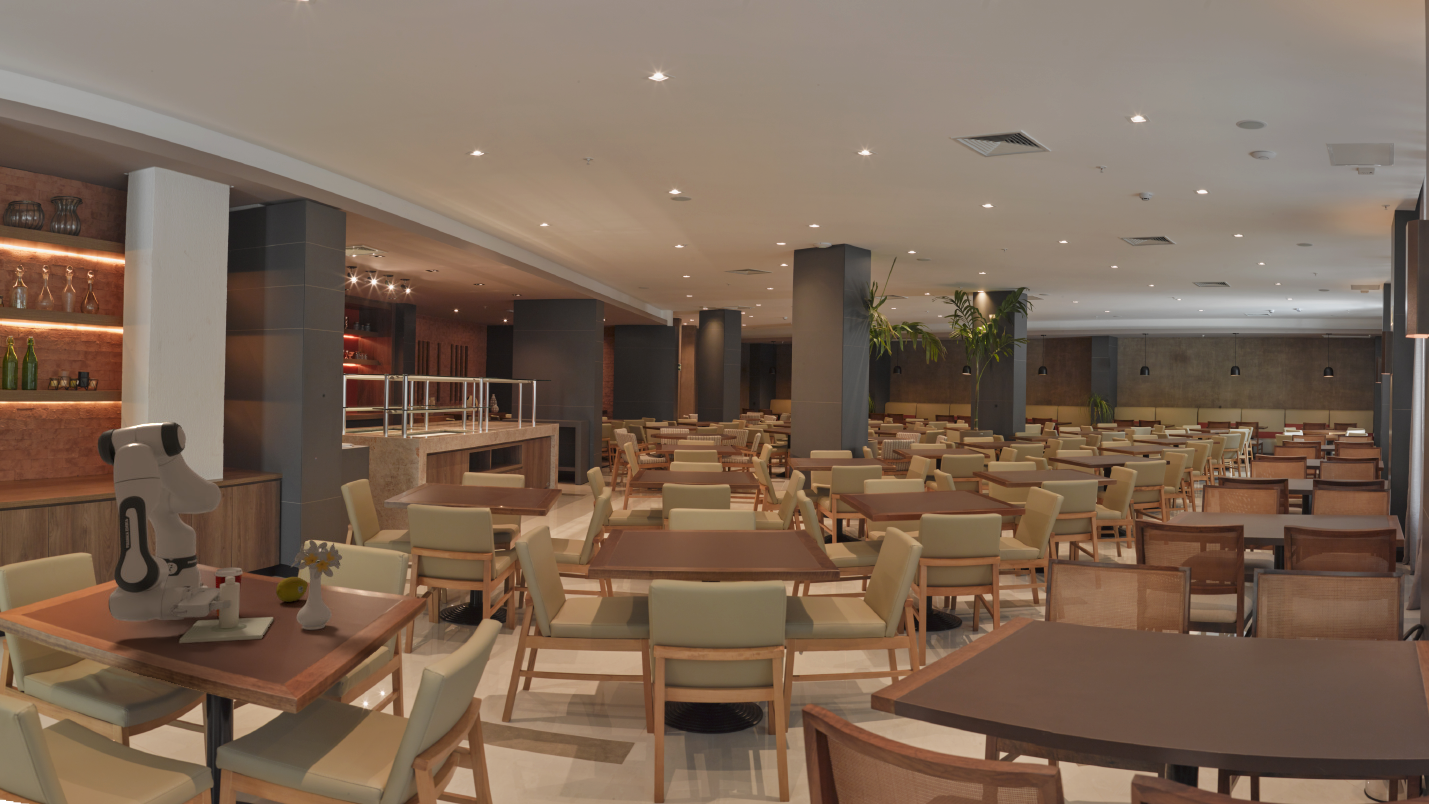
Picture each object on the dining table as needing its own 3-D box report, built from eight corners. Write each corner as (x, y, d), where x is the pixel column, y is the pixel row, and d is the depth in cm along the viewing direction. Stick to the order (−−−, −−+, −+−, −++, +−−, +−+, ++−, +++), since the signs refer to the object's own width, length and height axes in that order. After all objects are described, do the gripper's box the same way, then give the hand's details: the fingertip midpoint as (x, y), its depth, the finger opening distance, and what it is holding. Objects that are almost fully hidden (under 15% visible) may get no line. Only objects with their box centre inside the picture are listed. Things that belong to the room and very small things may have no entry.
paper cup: (247, 612, 265) (248, 567, 265) (230, 619, 258) (232, 572, 258) (223, 611, 266) (225, 566, 266) (206, 617, 258) (208, 571, 258)
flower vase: (306, 638, 241) (309, 549, 241) (280, 625, 253) (283, 540, 253) (352, 630, 250) (354, 545, 250) (325, 617, 263) (327, 536, 263)
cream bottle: (220, 624, 247) (222, 575, 247) (240, 623, 248) (241, 575, 248) (216, 628, 242) (218, 579, 242) (236, 627, 243) (238, 578, 243)
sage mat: (197, 623, 251) (197, 619, 251) (273, 620, 258) (273, 616, 258) (179, 643, 232) (179, 638, 232) (261, 638, 239) (261, 634, 239)
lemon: (281, 606, 275) (282, 581, 274) (269, 602, 279) (269, 577, 279) (314, 600, 283) (314, 576, 283) (301, 596, 288) (302, 572, 288)
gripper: (167, 601, 231) (225, 598, 236) (187, 584, 250) (240, 582, 255) (167, 624, 231) (224, 621, 236) (186, 605, 250) (239, 603, 255)
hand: (233, 601), depth 245 cm, fingers closed on cream bottle, 5 cm apart
